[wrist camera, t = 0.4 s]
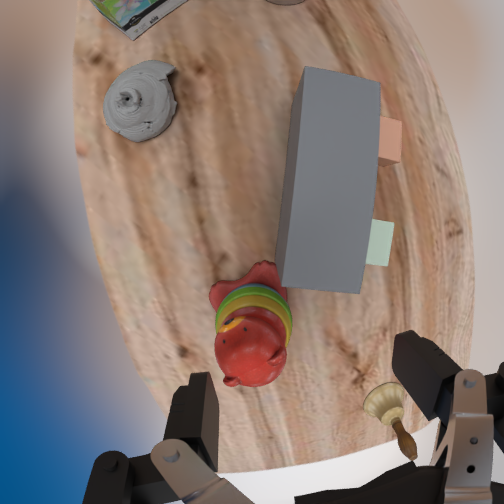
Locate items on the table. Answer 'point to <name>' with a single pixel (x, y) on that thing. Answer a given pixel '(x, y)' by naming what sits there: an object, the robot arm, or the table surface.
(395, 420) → the hand bell
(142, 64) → the grey clay mound
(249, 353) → the stacking bear
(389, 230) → the sage button
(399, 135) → the salmon button
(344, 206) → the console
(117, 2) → the tea box
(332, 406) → the table surface
